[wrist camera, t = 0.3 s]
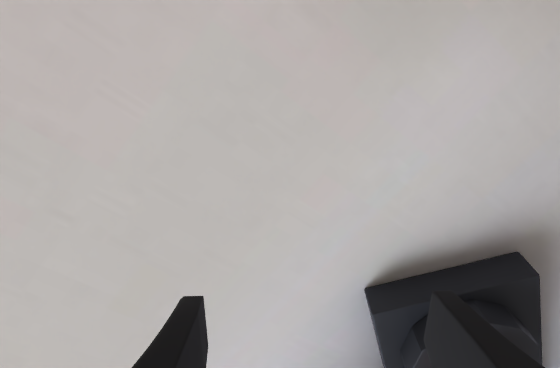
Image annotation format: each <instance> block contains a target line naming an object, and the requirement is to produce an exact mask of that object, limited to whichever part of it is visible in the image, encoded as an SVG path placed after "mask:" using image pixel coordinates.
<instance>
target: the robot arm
mask: <svg viewBox="0 0 560 368" xmlns="http://www.w3.org/2000/svg"><path fill="white" fill-rule="evenodd" d="M423 340H424V343H425V347H426V350H427V354H428V357H429V361H430V364H431V367H432V368H545V367H543V366H542V365H541V364H539V363H538V362H537V361H535V360H534V359H533V358H531V357H530V356H529V355H527V354H526V353H525V352H523V351H522V350H521V349H519V348H518V347H517V346H516V345H514V344H513V343H512V342H511V341H509V340H508V339H507V338H506V337H505V336H503V335H502V334H501V333H500V332H499V331H497V330H496V329H495V328H494V327H493V326H491V325H490V324H489V323H488V322H487V321H486V320H485V319H483V318H482V317H481V316H480V315H479V314H478V313H477V312H476V311H474V310H473V309H472V308H471V307H470V306H469V305H468V304H467V303H465V302H464V301H463V300H462V299H461V298H460V297H459V296H457V295H456V294H455V293H454V292H453V291H452V290H448V291H432V295H431V301H430V306H429V312H428V317H427V323H426V328H425V334H424V339H423ZM207 352H208V339H207V329H206V319H205V309H204V299H203V296H184V297H183V298H181V299H180V301H179V303H178V304H177V306H176V308H175V309H174V311H173V313H172V314H171V316H170V317H169V319H168V320H167V322H166V323H165V325H164V326H163V328H162V329H161V330H160V332H159V333H158V335H157V336H156V337H155V339H154V340H153V342H152V343H151V344H150V346H149V347H148V348H147V350H146V351H145V352H144V353H143V355H142V356H141V357H140V358H139V359H138V361H137V362H136V363H135V364H134V366H133V367H132V368H206V362H207Z"/></svg>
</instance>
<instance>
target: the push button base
mask: <svg viewBox="0 0 560 368" xmlns="http://www.w3.org/2000/svg"><path fill="white" fill-rule="evenodd" d="M448 290H452V291H453V292H454V293H455V294H456V295H457V296H459V297H460V298H461V299H462V300H463V301H464V302H465V303H467V304H468V305H469V306H470V307H471V308H472V309H473V310H474V311H476V312H477V313H478V314H479V315H480V316H481V317H482V318H483V319H485V320H486V321H487V322H488V323H489V324H490V325H491V326H493V327H494V328H495V329H496V330H497V331H499V332H500V333H501V334H502V335H503V336H505V337H506V338H507V339H508V340H509V341H511V342H512V343H513V344H514V345H516V346H517V347H518V348H519V349H521V350H522V351H523V352H525V353H526V354H527V355H529V356H530V357H531V358H533V359H534V360H535V361H537V362H538V363H539V364H541V365H542V342H541V310H540V277H539V274H538V273H537V272H536V271H535V270H534V268H533V267H532V266H531V265H530V264H529V263H528V262H527V261H526V260H525V258H524V257H523V256H522V255H521V254H520V253H519V252H515V253H511V254H507V255H503V256H499V257H494V258H490V259H486V260H482V261H478V262H474V263H469V264H465V265H461V266H457V267H453V268H449V269H444V270H440V271H436V272H432V273H428V274H424V275H419V276H415V277H411V278H407V279H403V280H399V281H395V282H390V283H386V284H382V285H378V286H374V287H370V288H365V290H364V291H365V294H366V298H367V302H368V306H369V310H370V314H371V318H372V322H373V326H374V330H375V334H376V338H377V342H378V346H379V350H380V354H381V358H382V362H383V366H384V368H432V367H431V364H430V361H429V357H428V354H427V350H426V347H425V343H424V340H423V339H424V334H425V328H426V323H427V317H428V312H429V306H430V301H431V295H432V291H448Z"/></svg>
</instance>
